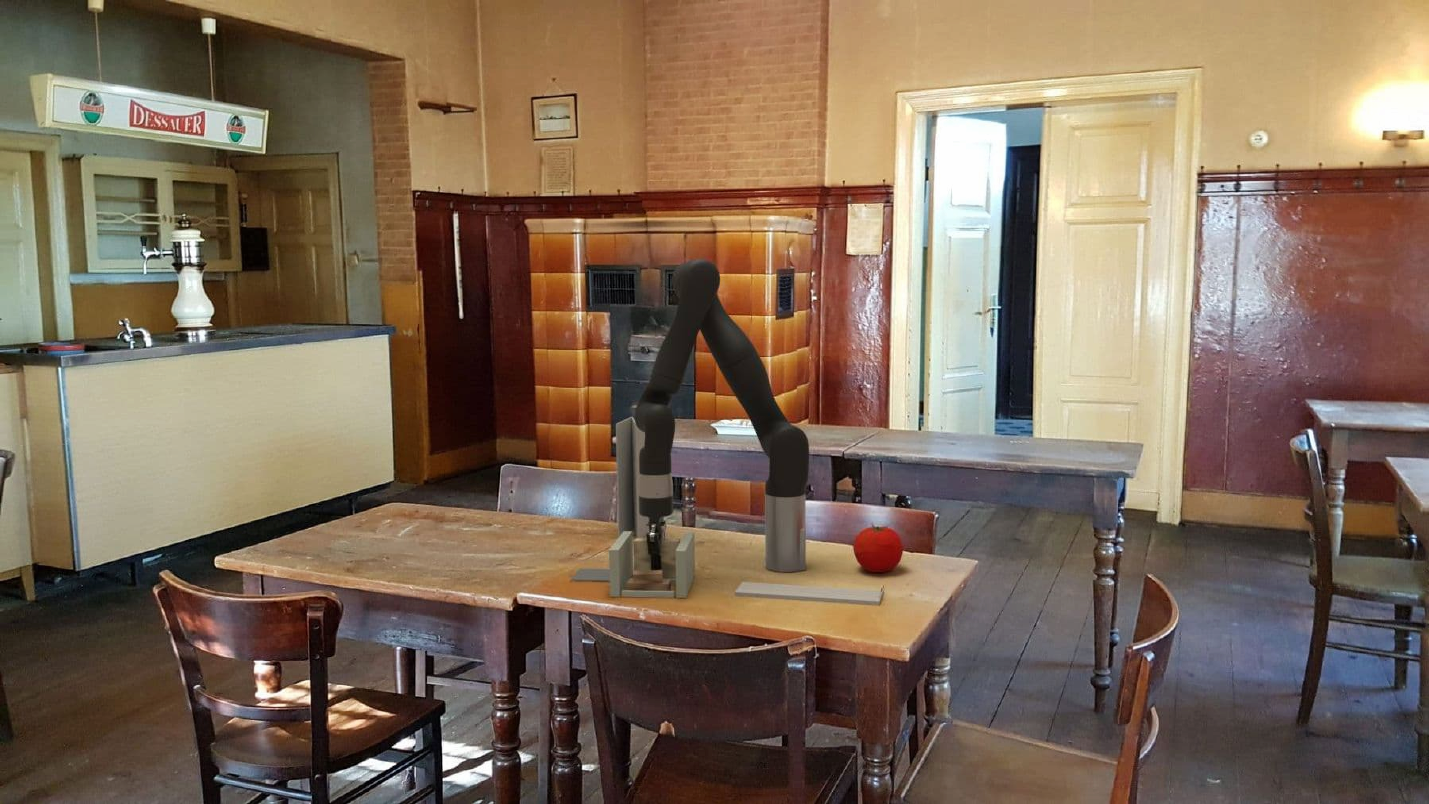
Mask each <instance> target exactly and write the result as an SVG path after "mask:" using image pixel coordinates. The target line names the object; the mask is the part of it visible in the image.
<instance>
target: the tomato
mask: <svg viewBox="0 0 1429 804" xmlns="http://www.w3.org/2000/svg"><path fill="white" fill-rule="evenodd" d="M852 548H853V549H852V550H853V553H854V556H855V560H856V561H857V563H858V564H859V566H860V567H861V568H863V569H864V570H866V571H869V572H871V573H885V572H888V571H890V570H892V569H894V568H896V567H897V566H898V565H899V564H900V563H901V560H902V557H903V553H904V545H903V543H902V540H901V537H900V534H899V533H898V532H897V531H896V530H894V529H892V528H890V527H889V526H888V525H886V526H874V524H873V523H871V526H870V527H866V528H864V529H863V530H861V531H859V533H858V534H857V535H856V536H855V539H854V543H853V544H852Z"/></svg>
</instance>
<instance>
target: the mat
mask: <svg viewBox="0 0 1429 804" xmlns="http://www.w3.org/2000/svg"><path fill="white" fill-rule="evenodd" d="M570 580H572V581H573V580H574V581H599V582H598V583H610V572H609V568H578V570H577V571H576V572H575V573H574V574H573V576H572V577H571V578H570ZM572 581H571V582H572Z"/></svg>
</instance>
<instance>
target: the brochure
mask: <svg viewBox="0 0 1429 804" xmlns="http://www.w3.org/2000/svg"><path fill="white" fill-rule="evenodd" d="M615 440H616V441H615V442H616V443H615V446H616V448H615V449H616V490H617V491H616V492H617V496H616V497H617V501H616V502H617V539H618V538H619V537H620V535H621V534H622V533H623V531H632V530H634V533H635V537H636V538H644V537H646V534H647V531H646V525H647V524H648V522H649V518H648V517H644V516H641V515H640V514H639V453H640V450H641V449H642V448H643V447H644V443H645V432H642V431H641V430H640V429H639V428H638V427H637V426H636V423H635V418H634V417H633V416H630V417H628V418H626V419H623V420H622V421H619V422H617V423H615Z"/></svg>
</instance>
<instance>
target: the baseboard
mask: <svg viewBox="0 0 1429 804" xmlns="http://www.w3.org/2000/svg"><path fill="white" fill-rule="evenodd" d="M884 586H885V585H884V584H883V585H882V588H881V590H878V589H877V590H875V589H858V588H846V587H845V588H844V587H827V586H813V585H812V586H811V585H796V584H795V585H794V584H783V583H781V584H779V583H765V582H751V581H742V582H741V583H740V585H739V586H737V588H736V589H735V591H734V596H735V597H745V598H749V597H750V598H763V599H775V600H776V599H777V600H791V601H804V600H805V601H804V602H808V601H809V602H819V601H820V602H821V603H823V602H824V603H834V604H835V603H837V604H852V605H854V604H855V605H866V606H880V605H881V602H882V599H883V596H884V590H883V589H885V587H884Z"/></svg>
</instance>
